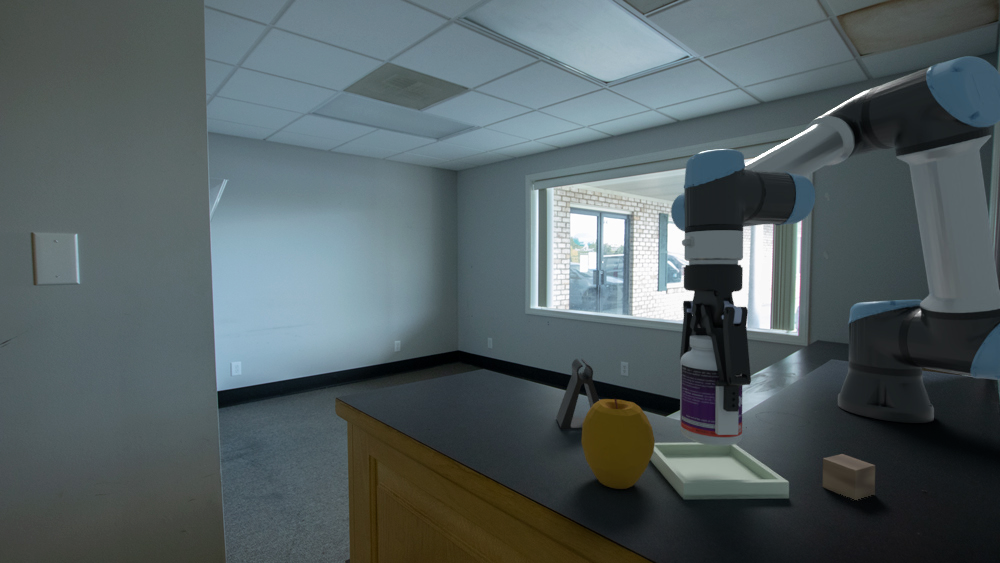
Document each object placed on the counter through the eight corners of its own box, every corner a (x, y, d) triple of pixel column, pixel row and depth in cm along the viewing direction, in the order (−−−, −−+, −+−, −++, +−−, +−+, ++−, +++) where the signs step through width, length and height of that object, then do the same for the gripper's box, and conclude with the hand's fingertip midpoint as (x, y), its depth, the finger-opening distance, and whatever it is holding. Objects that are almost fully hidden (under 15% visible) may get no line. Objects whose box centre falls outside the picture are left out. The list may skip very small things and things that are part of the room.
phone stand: (560, 429, 83) (560, 364, 83) (556, 419, 89) (556, 358, 89) (609, 429, 83) (609, 365, 83) (601, 419, 89) (602, 358, 89)
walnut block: (841, 482, 63) (842, 453, 63) (874, 495, 59) (875, 465, 59) (822, 487, 61) (822, 458, 61) (855, 501, 57) (855, 470, 57)
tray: (732, 455, 72) (732, 442, 72) (788, 498, 58) (789, 482, 58) (646, 456, 71) (646, 442, 71) (683, 499, 58) (683, 483, 58)
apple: (650, 471, 66) (651, 391, 66) (658, 504, 57) (659, 411, 56) (582, 464, 68) (583, 387, 68) (579, 495, 59) (579, 406, 58)
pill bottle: (750, 451, 60) (752, 342, 59) (685, 446, 61) (687, 340, 61) (731, 430, 68) (733, 334, 67) (675, 426, 69) (676, 332, 69)
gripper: (658, 264, 74) (657, 401, 75) (724, 261, 54) (722, 452, 54) (703, 264, 75) (702, 401, 75) (787, 261, 54) (784, 451, 54)
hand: (710, 422), depth 64 cm, fingers closed on pill bottle, 8 cm apart
